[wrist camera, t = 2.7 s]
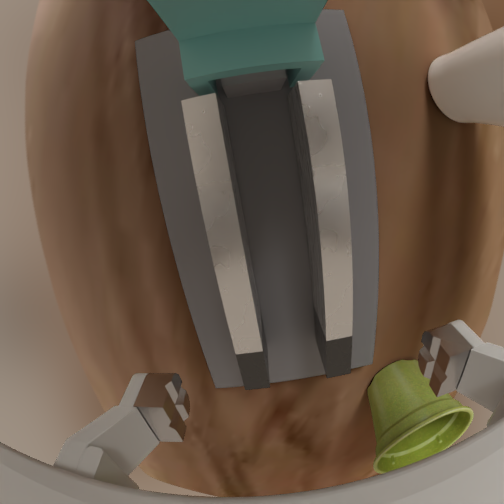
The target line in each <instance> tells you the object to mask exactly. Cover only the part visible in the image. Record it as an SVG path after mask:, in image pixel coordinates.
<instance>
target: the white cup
mask: <svg viewBox="0 0 504 504" xmlns="http://www.w3.org/2000/svg"><path fill="white" fill-rule="evenodd" d="M428 85H429V90H430V93H431V95H432V98H433V100H434V102H435V103H436V105H437V106H438V108H439V109H440V110H441V111H442V112H443V113H444V114H445V115H446V116H447V117H448V118H450V119H452V120H453V121H456V122H460V123H480V124H488V125H495V126H501V127H504V26H503V27H501V28H499V29H497V30H495V31H493V32H490V33H488V34H486V35H484V36H482V37H480V38H478V39H476V40H474V41H472V42H470V43H468V44H466V45H464V46H462V47H460V48H458V49H456V50H454V51H452V52H450V53H447V54H444V55H442V56H440V57H438V58H436V59H435V60H434V61H433V62H432V63H431V65H430V67H429V71H428Z"/></svg>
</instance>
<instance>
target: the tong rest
mask: <svg viewBox="0 0 504 504" xmlns="http://www.w3.org/2000/svg"><path fill="white" fill-rule="evenodd" d="M315 24H316V27H317V31H318V35H319V39H320V43H321V47H322V51H323V56H324V60H325V61H324V62H323V63H322V64H321V65H320V68H319V69H318V70H317V71H316V72H315V74H314V75H313V76H312V77H311V78H310V79H309V80H322V79H331V80H332V85H333V90H334V96H335V101H336V107H337V113H338V119H339V125H340V131H341V138H342V145H343V153H344V161H345V169H346V178H347V188H348V199H349V211H350V226H351V244H352V271H353V326H352V358H351V369H353V368H357V367H361V366H365V365H369V364H372V363H373V354H374V345H375V334H376V322H377V306H378V282H379V228H378V205H377V189H376V177H375V166H374V156H373V148H372V140H371V132H370V125H369V119H368V112H367V106H366V101H365V95H364V90H363V85H362V80H361V75H360V71H359V66H358V62H357V58H356V53H355V49H354V45H353V42H352V38H351V34H350V31H349V27H348V24H347V20H346V17H345V14H344V10H329V9H322V11H321V13H320V15H319V17H318V19H317V21H316V22H315ZM135 48H136V58H137V67H138V75H139V83H140V91H141V98H142V105H143V111H144V118H145V124H146V130H147V135H148V141H149V147H150V152H151V157H152V162H153V167H154V172H155V177H156V182H157V187H158V191H159V196H160V200H161V205H162V209H163V214H164V218H165V222H166V226H167V230H168V234H169V238H170V242H171V246H172V250H173V254H174V257H175V261H176V265H177V268H178V272H179V276H180V279H181V283H182V286H183V290H184V293H185V296H186V300H187V303H188V306H189V310H190V313H191V316H192V319H193V323H194V326H195V329H196V332H197V335H198V338H199V341H200V344H201V347H202V350H203V353H204V356H205V359H206V362H207V365H208V367H209V370H210V373H211V376H212V379H213V381H214V384H215V387H216V388H227V387H239V386H244V384H243V380H242V376H241V373H240V369H239V365H238V362H237V358H236V353H235V350H234V346H233V342H232V338H231V334H230V330H229V327H228V323H227V319H226V315H225V311H224V307H223V302H222V298H221V294H220V290H219V286H218V282H217V277H216V273H215V269H214V264H213V260H212V256H211V251H210V247H209V242H208V238H207V233H206V229H205V224H204V219H203V214H202V210H201V205H200V200H199V195H198V190H197V185H196V180H195V175H194V170H193V165H192V159H191V154H190V149H189V143H188V138H187V132H186V126H185V121H184V115H183V109H182V103H181V100H185V99H189V98H194V97H198V96H199V95H198V94H197V93H196V92H195V91H194V90H193V89H192V88H191V87H190V86H189V84H188V83H187V82H186V81H185V80H184V74H183V67H182V61H181V54H180V47H179V41H178V40H177V39H176V37H175V36H174V35H173V33H172V32H171V31H170V30H167V31H164V32H161V33H157V34H154V35H151V36H148V37H145V38H142V39H139V40H136V41H135ZM216 85H217V91H218V96H219V99H220V100H221V102H222V103H223V105H224V107H225V113H226V118H227V124H228V130H229V135H230V141H231V147H232V152H233V158H234V164H235V169H236V175H237V181H238V186H239V192H240V198H241V203H242V209H243V214H244V220H245V226H246V231H247V237H248V243H249V248H250V254H251V259H252V265H253V271H254V276H255V282H256V287H257V293H258V299H259V304H260V310H261V314H262V320H263V326H264V331H265V337H266V342H267V349H268V364H269V379H270V383H274V382H282V381H289V380H295V379H301V378H307V377H313V376H319V375H324V374H325V370H324V367H323V363H322V360H321V357H320V353H319V350H318V346H317V343H316V340H315V323H314V309H313V293H312V281H311V270H310V259H309V249H308V240H307V231H306V222H305V213H304V205H303V197H302V190H301V182H300V175H299V168H298V161H297V154H296V148H295V142H294V135H293V129H292V123H291V117H290V112H289V106H288V100H287V96H288V95H289V93H290V92H291V90H292V89H293V87H289V82H288V77H287V72H286V69H283V70H274V71H265V72H258V73H251V74H244V75H238V76H232V77H226V78H221V79H216Z"/></svg>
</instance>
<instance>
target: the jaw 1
mask: <svg viewBox="0 0 504 504" xmlns="http://www.w3.org/2000/svg"><path fill="white" fill-rule="evenodd" d="M181 103H182V109H183V115H184V121H185V126H186V132H187V138H188V143H189V149H190V154H191V159H192V165H193V170H194V175H195V180H196V185H197V190H198V195H199V200H200V205H201V210H202V214H203V219H204V224H205V229H206V233H207V238H208V242H209V247H210V251H211V256H212V260H213V264H214V269H215V273H216V277H217V282H218V286H219V290H220V294H221V298H222V302H223V307H224V311H225V315H226V319H227V323H228V327H229V330H230V334H231V338H232V342H233V346H234V350H235V353H236V358H237V362H238V365H239V369H240V373H241V376H242V380H243V384H244V387H245V390H250V389H260V388H268V387H270V379H269V364H268V349H267V342H266V337H265V331H264V326H263V320H262V314H261V310H260V304H259V299H258V293H257V287H256V282H255V276H254V271H253V265H252V259H251V254H250V248H249V243H248V237H247V231H246V226H245V220H244V214H243V209H242V203H241V198H240V192H239V186H238V181H237V175H236V169H235V164H234V158H233V152H232V147H231V141H230V135H229V130H228V124H227V118H226V113H225V107H224V105H223V103H222V102H221V100H220V99H219V97H218V96H217V94H216V93H212V94H207V95H203V96H198V97H194V98H189V99H185V100H181Z"/></svg>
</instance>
